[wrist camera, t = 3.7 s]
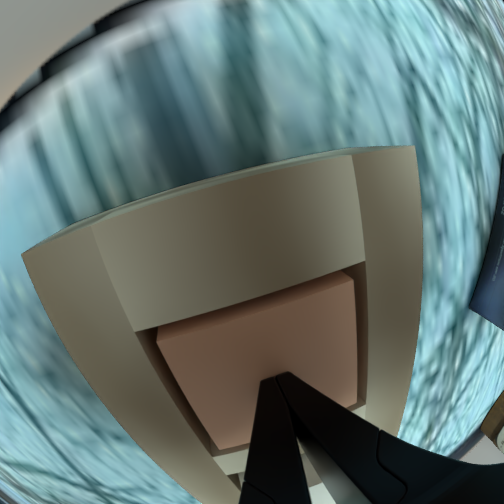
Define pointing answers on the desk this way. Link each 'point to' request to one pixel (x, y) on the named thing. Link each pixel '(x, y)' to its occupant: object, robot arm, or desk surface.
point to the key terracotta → (264, 352)
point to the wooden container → (495, 423)
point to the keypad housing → (236, 287)
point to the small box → (493, 271)
